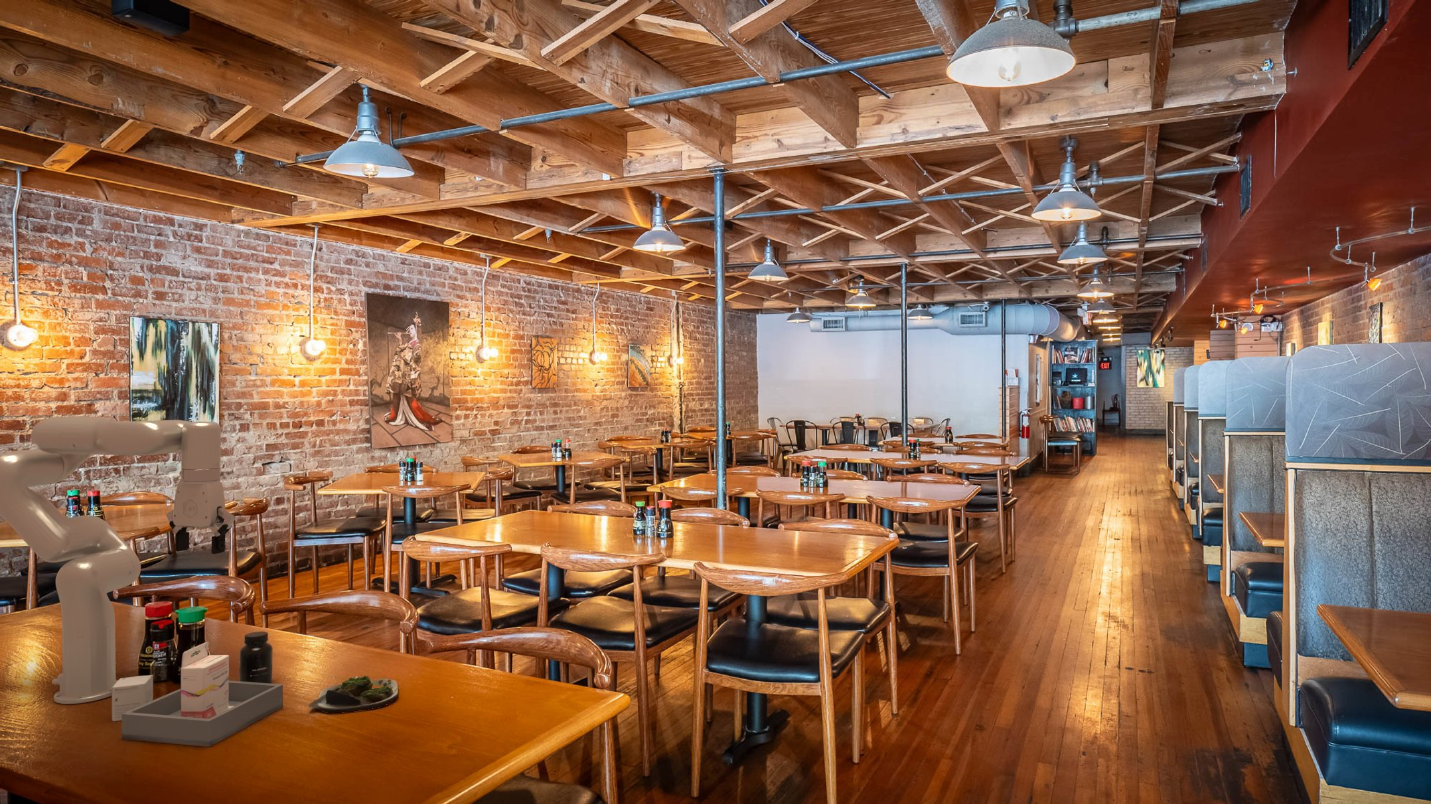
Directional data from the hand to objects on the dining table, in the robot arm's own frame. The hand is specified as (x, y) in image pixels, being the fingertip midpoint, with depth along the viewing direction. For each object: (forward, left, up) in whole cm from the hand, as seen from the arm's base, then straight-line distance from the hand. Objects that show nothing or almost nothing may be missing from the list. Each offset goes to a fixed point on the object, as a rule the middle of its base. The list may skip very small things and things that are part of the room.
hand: (200, 551), depth 183 cm
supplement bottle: (+7, +8, -33) cm, 35 cm away
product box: (-6, -12, -33) cm, 36 cm away
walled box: (+13, -13, -33) cm, 38 cm away
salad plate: (+36, +4, -33) cm, 49 cm away
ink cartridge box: (+14, -13, -32) cm, 37 cm away
